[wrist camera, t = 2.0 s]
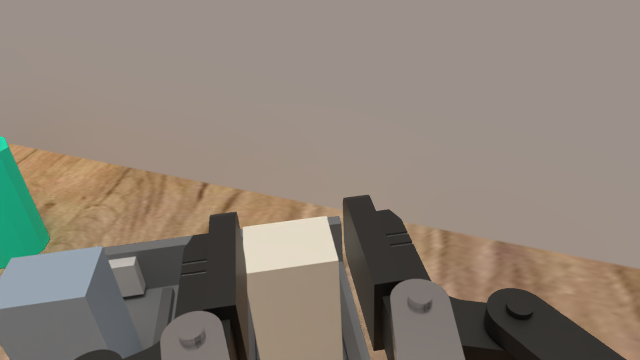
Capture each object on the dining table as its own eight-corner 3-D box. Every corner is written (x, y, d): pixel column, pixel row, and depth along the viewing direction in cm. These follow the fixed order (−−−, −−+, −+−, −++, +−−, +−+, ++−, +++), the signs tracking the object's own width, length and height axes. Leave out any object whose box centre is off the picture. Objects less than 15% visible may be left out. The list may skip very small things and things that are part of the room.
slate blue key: (145, 358, 33) (102, 245, 28) (136, 412, 30) (84, 296, 25) (70, 370, 33) (11, 258, 27) (51, 426, 29) (-20, 311, 24)
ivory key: (333, 328, 34) (326, 215, 29) (343, 377, 31) (338, 260, 26) (262, 339, 34) (242, 227, 29) (265, 390, 31) (243, 274, 25)
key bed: (339, 258, 42) (337, 212, 40) (380, 405, 31) (381, 353, 28) (79, 295, 40) (58, 249, 38) (15, 468, 29) (-22, 419, 26)
